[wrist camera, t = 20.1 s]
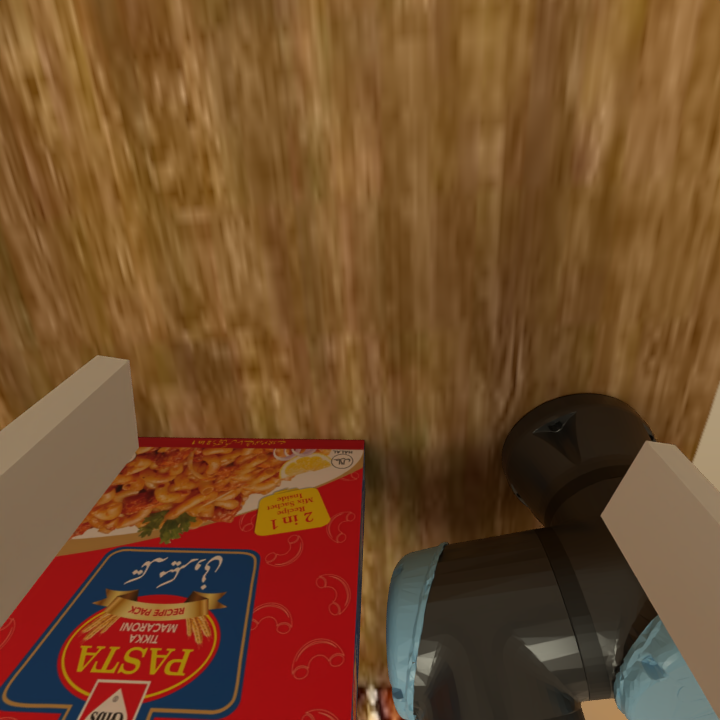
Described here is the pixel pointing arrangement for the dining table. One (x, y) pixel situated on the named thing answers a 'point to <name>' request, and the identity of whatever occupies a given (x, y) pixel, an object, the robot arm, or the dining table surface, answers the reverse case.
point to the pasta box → (201, 590)
